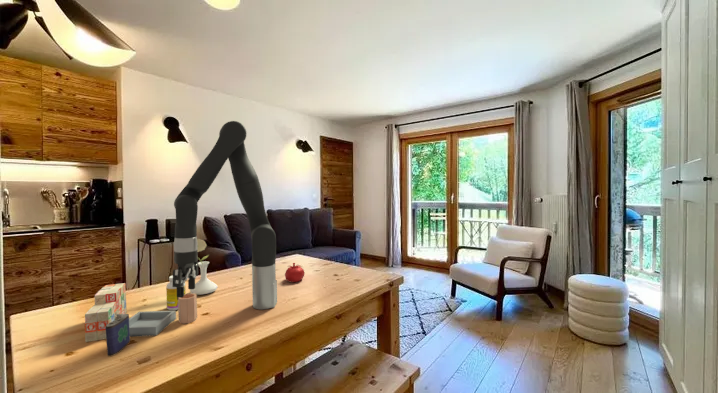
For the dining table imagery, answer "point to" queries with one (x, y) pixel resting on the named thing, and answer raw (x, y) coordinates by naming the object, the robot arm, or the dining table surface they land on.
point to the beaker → (187, 308)
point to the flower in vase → (203, 274)
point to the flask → (117, 334)
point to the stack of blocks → (105, 310)
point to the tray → (150, 322)
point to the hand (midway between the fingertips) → (186, 292)
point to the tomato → (294, 273)
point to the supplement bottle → (172, 295)
